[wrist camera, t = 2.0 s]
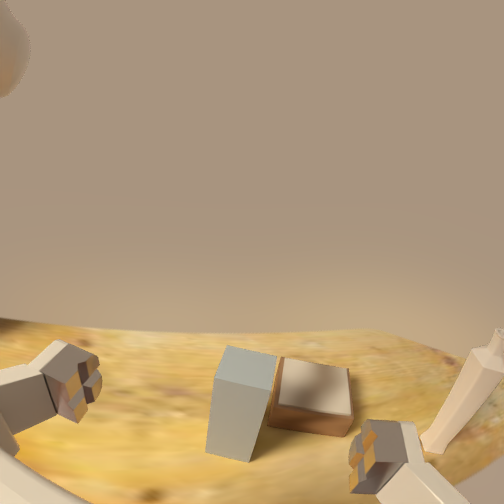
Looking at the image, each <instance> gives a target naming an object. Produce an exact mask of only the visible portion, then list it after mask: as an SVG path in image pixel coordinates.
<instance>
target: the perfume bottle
mask: <svg viewBox="0 0 504 504" xmlns="http://www.w3.org/2000/svg"><path fill="white" fill-rule="evenodd" d="M503 353H504V329H502V328H497V329H495V333H494V335H493V337H492V339H491V340H490V342H489V344H488V345H484V346H480V347H476V348H472V349H471V351H470V353H469V355H468V357H467V359H466V361H465V363H464V366H463V368H462V370H461V372H460V374H459V376H458V378H457V380H456V382H455V384H454V386H453V387H452V389H451V391H450V393H449V395H448V397H447V399H446V400H445V402H444V404H443V406H442V407H441V409H440V411H439V413H438V414H437V416H436V418H435V419H434V421H433V423H432V424H431V426H430V428H429V429H427V430H426V431H425V432H423V433H422V434H421V435H420V438H421V442H422V445H423V448H424V450H425V451H426V452H431V453H436V454H443V453H444V451H445V449H446V447H447V445H448V443H449V442H450V441H451V440H452V439H453V438H454V437H455V436H456V435H457V434H458V432H459V431H460V430H461V429H462V428H463V427H464V426H465V425H466V424H467V422H468V421H469V420H470V419H471V418H472V417H473V415H474V414H475V413H476V412H477V411H478V409H479V408H480V407H481V406H482V405H483V403H484V402H485V401H486V400H487V398H488V397H489V396H490V394H491V393H492V392H493V390H494V389H495V388H496V386H497V385H498V384H499V382H500V381H501V380H502V378H503V377H504V355H503Z"/></svg>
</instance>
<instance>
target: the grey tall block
mask: <svg viewBox="0 0 504 504" xmlns="http://www.w3.org/2000/svg"><path fill="white" fill-rule="evenodd" d="M276 359H277V356H273V355H269V354H264V353H259V352H255V351H250V350H246V349H242V348H237V347H233V346H229V345H227V347H226V349H225V352H224V354H223V357H222V359H221V362H220V364H219V367H218V369H217V372H216V374H215V377H214V384H213V392H212V400H211V408H210V416H209V424H208V433H207V441H206V450H205V452H206V453H210V454H214V455H218V456H222V457H226V458H230V459H235V460H239V461H244V462H248V463H249V461H250V458H251V455H252V452H253V449H254V445H255V442H256V439H257V436H258V433H259V429H260V426H261V423H262V420H263V416H264V413H265V410H266V406H267V403H268V400H269V396H270V393H271V388H272V383H273V377H274V371H275V365H276Z"/></svg>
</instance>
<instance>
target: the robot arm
mask: <svg viewBox="0 0 504 504" xmlns="http://www.w3.org/2000/svg"><path fill="white" fill-rule="evenodd" d="M29 59H30V40H29V36H28V33H27V31H26V29H25V28H24V26H23V25H22V24H21V23H20V22H19V21H18V20H17V19H16V18H15V17H14V16H13V14H12V13H11V11H10V9H9V8H8V5H7V3H6V0H0V98H2V97H5V96H8V95H9V94H10V93H11V92H12V91H13V90H14V89H15V88H16V86H17V85H18V84H19V82H20V81H21V79H22V77H23V75H24V74H25V71H26V69H27V66H28V63H29ZM99 365H100V364H99V360H98V357H97V356H96V355H94V354H92V353H89V352H87V351H85V350H83V349H80V348H78V347H76V346H74V345H71V344H69V343H66V342H64V341H62V340H60V339H58V340H55V341H53V342H52V343H51V344H50V345H49V346H48V347H47V348H46V349H45V350H44V351H42V352H41V353H40V354H39V355H38V356H37V357H36V358H35V359H34V360H33V361H32V362H31V363H30V364H28V365H26V364H21V365H17V366H13V367H10V368H6V369H2V370H0V504H93V503H91V502H89V501H87V500H85V499H83V498H81V497H79V496H77V495H75V494H73V493H71V492H69V491H68V490H66V489H64V488H62V487H60V486H59V485H57V484H55V483H54V482H52V481H50V480H49V479H47V478H45V477H44V476H42V475H40V474H39V473H37V472H36V471H34V470H33V469H31V468H30V467H28V466H27V465H25V464H24V463H22V462H21V461H19V460H18V459H16V458H15V457H14V456H15V455H16V454H17V452H18V451H19V450H20V448H19V445H18V443H17V441H16V440H15V438H14V436H13V435H14V434H16V433H19V432H21V431H23V430H25V429H28V428H30V427H32V426H34V425H36V424H39V423H41V422H43V421H45V420H47V419H49V418H52V417H54V416H56V415H57V414H59V415H61V416H63V417H65V418H67V419H69V420H71V421H73V422H75V423H77V424H78V423H79V422H80V420H81V419H82V418H83V416H84V415H85V414H86V412H87V411H88V406H87V404H89V403H92V402H94V401H95V400H96V399H97V397H98V396H99V394H100V391H101V389H102V376H101V374H100V373H99V371H98V370H97V367H98V366H99ZM56 413H57V414H56ZM349 465H350V466H351V467H352V468H353V471H352V473H351V474H350V475H349V483H350V493H355V494H376V495H375V496H376V497H377V499H378V500H379V502H380V503H381V504H471V503H470V502H469V501H468V500H467V499H466V498H465V497H464V496H463V495H462V494H461V493H460V492H458V490H456V489H455V488H454V487H453V486H452V485H451V484H450V483H449V482H448V481H447V480H446V479H445V478H444V477H443V476H442V475H441V474H440V473H439V472H438V471H437V470H436V469H435V468H434V467H433V466H432V465H431V464H430V463H425V461H424V457H423V453H422V449H421V445H420V441H419V437H418V433H417V429H416V426H415V424H414V423H413V422H407V421H388V420H373V419H367V420H366V421H364V423H363V424H362V426H361V433H360V434H358V435H357V436H355V438H354V440H353V441H352V443H351V447H350V450H349Z"/></svg>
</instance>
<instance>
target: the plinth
mask: <svg viewBox="0 0 504 504" xmlns="http://www.w3.org/2000/svg"><path fill="white" fill-rule="evenodd" d="M353 420H354V413H353V402H352V393H351V384H350V375H349V369H347V368H341V367H335V366H329V365H323V364H317V363H311V362H306V361H301V360H295V359H290V358H285V357H281V359H280V363H279V366H278V370H277V374H276V378H275V384H274V390H273V396H272V402H271V408H270V413H269V419H268V425H267V426H272V427H277V428H283V429H288V430H294V431H300V432H307V433H314V434H321V435H329V436H337V437H344V436H345V434H346V433H347V431H348V429H349V427H350V426H351V424H352V422H353Z"/></svg>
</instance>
